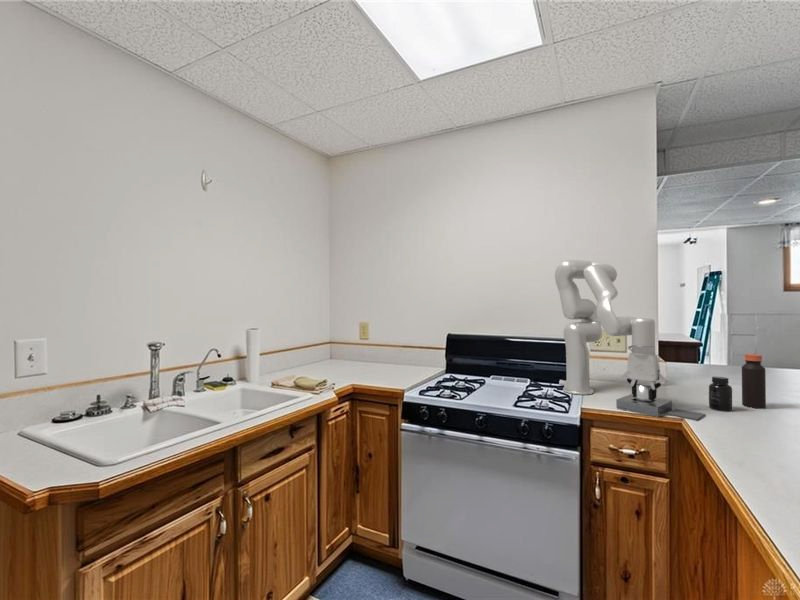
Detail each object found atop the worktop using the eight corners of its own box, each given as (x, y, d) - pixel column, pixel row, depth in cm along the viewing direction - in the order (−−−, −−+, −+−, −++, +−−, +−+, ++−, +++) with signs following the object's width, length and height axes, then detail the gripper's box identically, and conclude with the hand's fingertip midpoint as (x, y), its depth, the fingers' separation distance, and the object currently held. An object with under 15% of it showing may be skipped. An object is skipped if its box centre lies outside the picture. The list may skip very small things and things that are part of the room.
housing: (616, 408, 148) (616, 399, 148) (631, 402, 157) (631, 393, 157) (657, 417, 137) (657, 407, 137) (672, 409, 146) (672, 400, 146)
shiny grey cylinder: (633, 409, 148) (633, 384, 148) (639, 406, 151) (639, 382, 151) (649, 412, 143) (648, 387, 143) (654, 409, 147) (654, 385, 147)
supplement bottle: (736, 412, 142) (736, 379, 142) (715, 411, 144) (715, 379, 144) (725, 407, 149) (724, 376, 149) (705, 406, 150) (704, 375, 150)
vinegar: (770, 409, 145) (769, 356, 145) (749, 408, 147) (749, 355, 147) (757, 404, 152) (757, 353, 152) (737, 403, 153) (737, 353, 153)
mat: (666, 414, 140) (666, 413, 140) (675, 410, 145) (675, 408, 145) (697, 420, 133) (697, 419, 133) (705, 415, 138) (705, 414, 138)
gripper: (615, 349, 152) (615, 395, 152) (665, 353, 138) (666, 404, 138) (623, 347, 156) (624, 392, 156) (673, 351, 143) (673, 400, 143)
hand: (644, 397), depth 147 cm, fingers closed on shiny grey cylinder, 5 cm apart
